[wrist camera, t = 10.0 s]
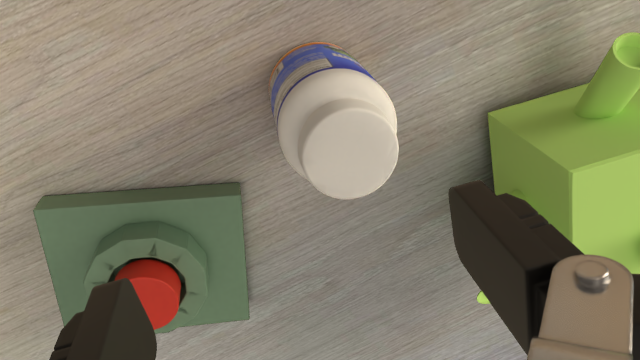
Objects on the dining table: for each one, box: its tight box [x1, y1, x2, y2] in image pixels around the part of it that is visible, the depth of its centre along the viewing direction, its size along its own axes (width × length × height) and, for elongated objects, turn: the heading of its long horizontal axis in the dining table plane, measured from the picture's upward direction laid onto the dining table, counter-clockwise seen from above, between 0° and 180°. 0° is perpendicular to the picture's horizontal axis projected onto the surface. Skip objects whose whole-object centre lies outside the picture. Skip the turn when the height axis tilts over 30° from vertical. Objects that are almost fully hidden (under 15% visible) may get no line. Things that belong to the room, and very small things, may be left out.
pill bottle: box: [269, 42, 399, 199], centre depth 25 cm, size 5×5×10 cm
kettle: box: [477, 33, 640, 304], centre depth 29 cm, size 15×14×11 cm
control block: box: [33, 183, 250, 334], centre depth 31 cm, size 11×9×4 cm
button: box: [114, 259, 181, 330], centre depth 29 cm, size 4×4×2 cm
